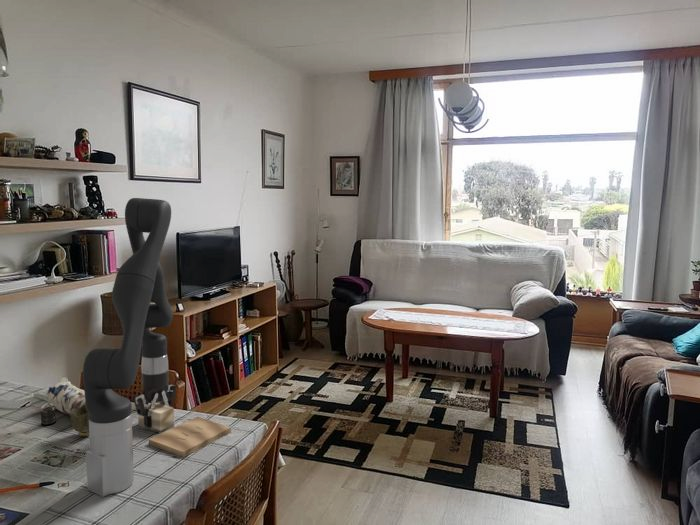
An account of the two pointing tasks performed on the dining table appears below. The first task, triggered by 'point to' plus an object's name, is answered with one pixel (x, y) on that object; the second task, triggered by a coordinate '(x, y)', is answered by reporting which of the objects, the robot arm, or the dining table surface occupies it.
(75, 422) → the cup
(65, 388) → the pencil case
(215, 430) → the oak board
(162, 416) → the block
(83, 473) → the dining table surface
